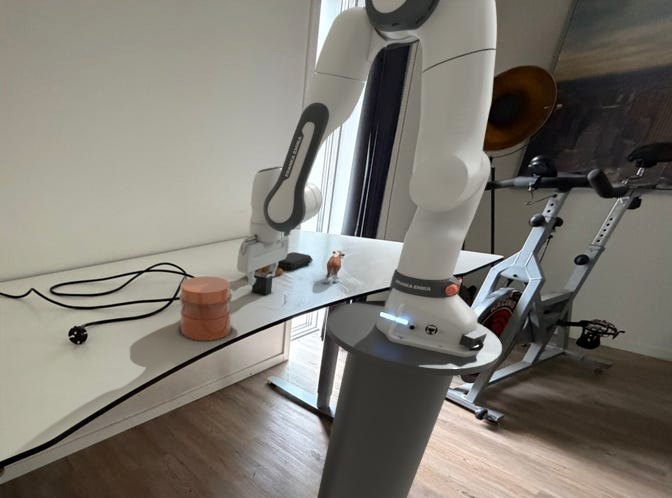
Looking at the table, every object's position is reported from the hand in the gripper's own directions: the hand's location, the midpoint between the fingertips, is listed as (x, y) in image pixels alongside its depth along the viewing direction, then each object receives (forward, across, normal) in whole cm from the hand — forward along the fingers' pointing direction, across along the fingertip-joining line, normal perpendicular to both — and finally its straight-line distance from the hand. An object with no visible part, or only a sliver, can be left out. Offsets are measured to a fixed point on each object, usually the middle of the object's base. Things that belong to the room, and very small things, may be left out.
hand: (261, 280), depth 112 cm
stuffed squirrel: (+4, +13, +10) cm, 17 cm away
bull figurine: (+4, +25, -10) cm, 27 cm away
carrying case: (+4, +30, +8) cm, 31 cm away
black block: (+4, 0, 0) cm, 4 cm away
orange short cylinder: (+4, -30, -5) cm, 31 cm away
